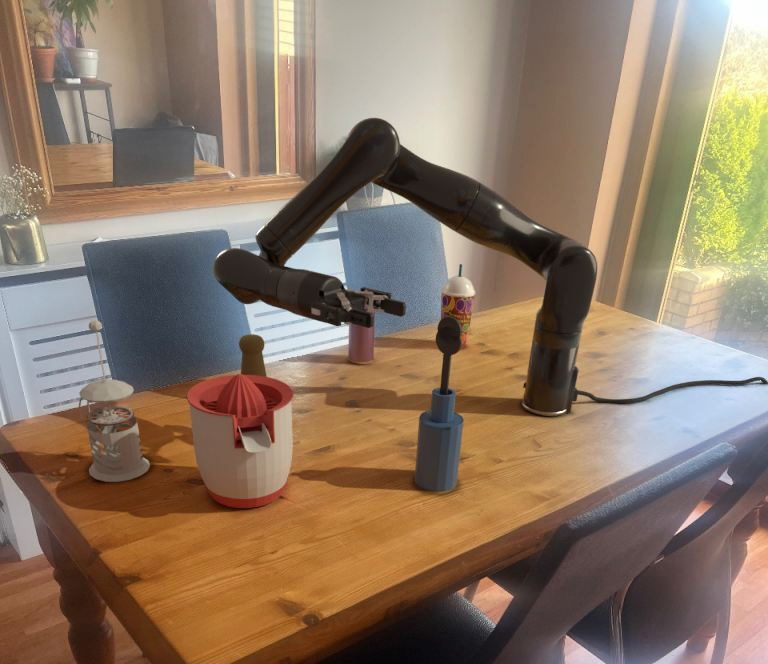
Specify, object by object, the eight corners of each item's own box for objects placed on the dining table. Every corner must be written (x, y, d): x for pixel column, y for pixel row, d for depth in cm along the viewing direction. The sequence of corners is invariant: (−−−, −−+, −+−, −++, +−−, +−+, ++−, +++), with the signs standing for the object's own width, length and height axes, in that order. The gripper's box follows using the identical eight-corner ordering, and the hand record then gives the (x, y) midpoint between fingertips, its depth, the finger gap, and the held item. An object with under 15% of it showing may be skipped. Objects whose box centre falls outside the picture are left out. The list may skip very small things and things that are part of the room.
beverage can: (370, 366, 167) (372, 301, 159) (345, 363, 168) (346, 298, 160) (375, 357, 172) (378, 294, 164) (351, 354, 173) (352, 292, 165)
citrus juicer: (211, 531, 106) (198, 405, 95) (188, 477, 119) (175, 361, 109) (312, 512, 111) (310, 391, 101) (280, 462, 125) (275, 351, 114)
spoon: (425, 476, 122) (439, 313, 107) (447, 484, 120) (464, 319, 105) (423, 477, 121) (437, 314, 107) (446, 485, 119) (462, 320, 105)
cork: (273, 384, 155) (271, 334, 149) (258, 393, 150) (255, 342, 145) (250, 379, 157) (247, 329, 151) (234, 387, 152) (230, 337, 147)
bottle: (450, 473, 124) (460, 383, 116) (460, 493, 118) (471, 400, 110) (411, 474, 123) (417, 383, 114) (419, 495, 117) (426, 401, 109)
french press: (116, 487, 115) (89, 335, 102) (68, 467, 120) (37, 319, 107) (162, 464, 122) (142, 319, 109) (115, 446, 127) (91, 305, 114)
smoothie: (447, 352, 178) (455, 269, 167) (430, 342, 184) (437, 261, 173) (476, 348, 181) (485, 267, 171) (458, 338, 187) (466, 259, 177)
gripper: (280, 279, 113) (362, 299, 105) (338, 265, 123) (416, 283, 115) (281, 326, 117) (360, 349, 109) (337, 308, 127) (412, 329, 119)
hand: (389, 315), depth 112 cm, fingers open, 8 cm apart
